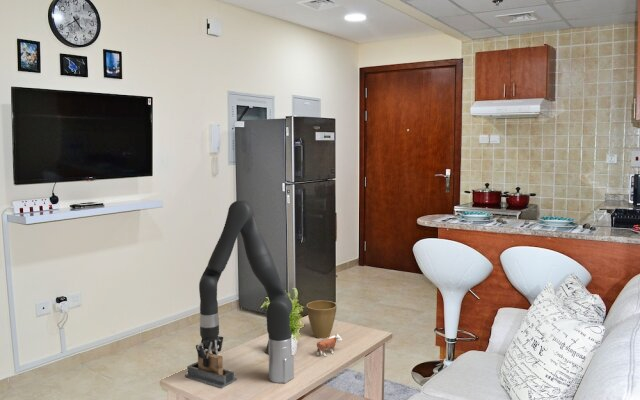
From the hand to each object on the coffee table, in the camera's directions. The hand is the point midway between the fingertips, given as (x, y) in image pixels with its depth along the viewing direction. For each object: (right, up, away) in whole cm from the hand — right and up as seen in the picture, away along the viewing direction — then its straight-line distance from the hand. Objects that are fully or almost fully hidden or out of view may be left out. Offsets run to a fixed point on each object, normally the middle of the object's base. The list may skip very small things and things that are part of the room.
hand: (210, 364), depth 224 cm
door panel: (0, -5, +1) cm, 5 cm away
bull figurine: (+48, -3, +27) cm, 55 cm away
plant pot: (+45, -1, +50) cm, 67 cm away
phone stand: (+25, -3, +29) cm, 38 cm away
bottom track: (0, -6, +1) cm, 6 cm away
